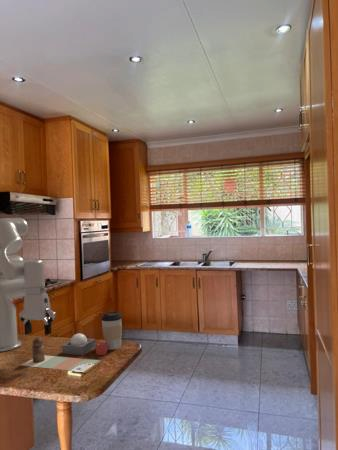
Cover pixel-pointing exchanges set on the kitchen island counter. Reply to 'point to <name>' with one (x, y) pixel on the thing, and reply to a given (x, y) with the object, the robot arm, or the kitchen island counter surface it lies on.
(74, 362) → the game board
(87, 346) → the base
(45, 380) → the kitchen island counter surface
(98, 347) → the red die
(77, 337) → the dome
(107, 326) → the coffee cup
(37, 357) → the walnut pawn
